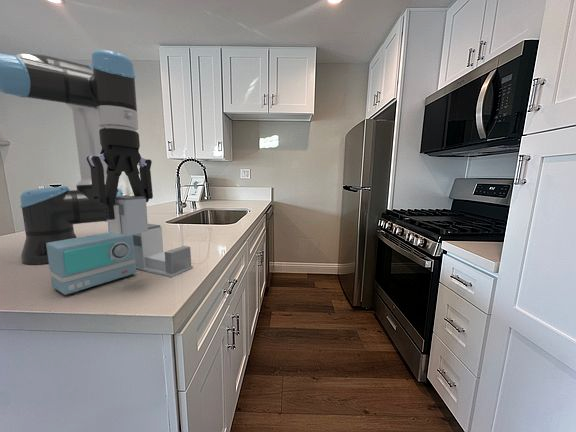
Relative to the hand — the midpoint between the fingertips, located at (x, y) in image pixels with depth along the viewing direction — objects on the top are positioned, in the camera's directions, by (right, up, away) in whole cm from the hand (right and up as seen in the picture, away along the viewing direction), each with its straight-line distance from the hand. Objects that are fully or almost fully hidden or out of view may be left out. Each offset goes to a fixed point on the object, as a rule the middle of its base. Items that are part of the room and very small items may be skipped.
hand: (128, 230), depth 61 cm
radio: (-11, -14, +5) cm, 19 cm away
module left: (-6, -12, +19) cm, 23 cm away
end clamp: (+6, -13, +13) cm, 20 cm away
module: (0, 0, 0) cm, 0 cm away
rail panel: (-1, -12, +16) cm, 20 cm away
